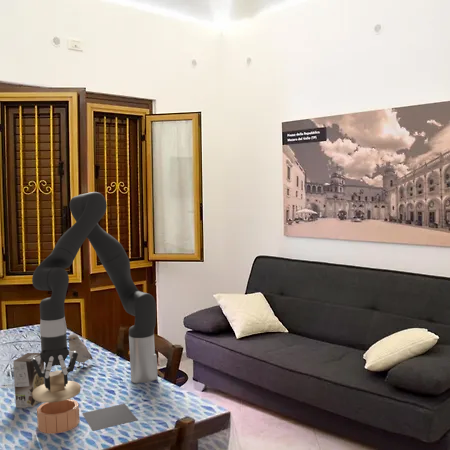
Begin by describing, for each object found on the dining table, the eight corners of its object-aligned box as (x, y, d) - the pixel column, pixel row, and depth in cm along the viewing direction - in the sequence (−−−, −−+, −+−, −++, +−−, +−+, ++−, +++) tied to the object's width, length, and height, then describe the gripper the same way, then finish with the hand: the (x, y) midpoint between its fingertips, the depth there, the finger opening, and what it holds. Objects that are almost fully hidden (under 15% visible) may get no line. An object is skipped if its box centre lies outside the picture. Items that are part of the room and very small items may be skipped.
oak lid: (75, 381, 173) (74, 362, 172) (85, 396, 160) (84, 376, 160) (29, 389, 166) (28, 370, 166) (36, 406, 154) (34, 385, 153)
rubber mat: (124, 405, 178) (124, 403, 178) (137, 421, 165) (137, 419, 165) (82, 414, 171) (82, 413, 171) (92, 432, 159) (92, 430, 159)
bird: (63, 372, 210) (61, 335, 209) (88, 362, 221) (86, 326, 220) (71, 374, 207) (69, 337, 206) (97, 364, 219) (95, 328, 217)
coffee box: (32, 408, 177) (29, 361, 176) (15, 407, 178) (12, 360, 177) (47, 397, 186) (44, 352, 185) (30, 396, 187) (27, 351, 186)
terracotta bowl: (74, 413, 172) (73, 396, 172) (82, 428, 161) (81, 409, 161) (35, 422, 167) (34, 404, 166) (41, 438, 156) (40, 418, 156)
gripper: (74, 326, 168) (77, 379, 170) (27, 333, 162) (30, 388, 163) (79, 331, 162) (82, 386, 163) (30, 339, 155) (33, 396, 157)
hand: (56, 387), depth 163 cm, fingers closed on oak lid, 4 cm apart
